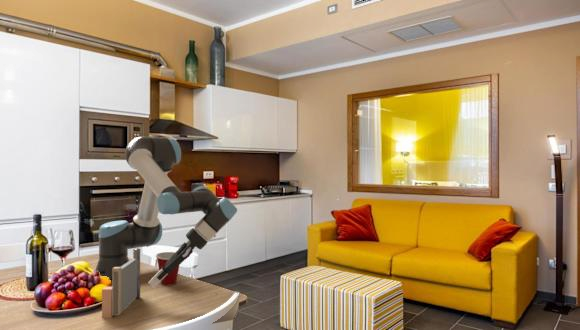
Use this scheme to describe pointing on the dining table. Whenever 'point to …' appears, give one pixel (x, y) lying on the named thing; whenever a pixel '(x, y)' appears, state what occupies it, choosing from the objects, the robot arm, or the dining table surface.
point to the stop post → (107, 302)
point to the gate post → (137, 256)
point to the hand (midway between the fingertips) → (151, 285)
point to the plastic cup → (162, 259)
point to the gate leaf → (124, 286)
